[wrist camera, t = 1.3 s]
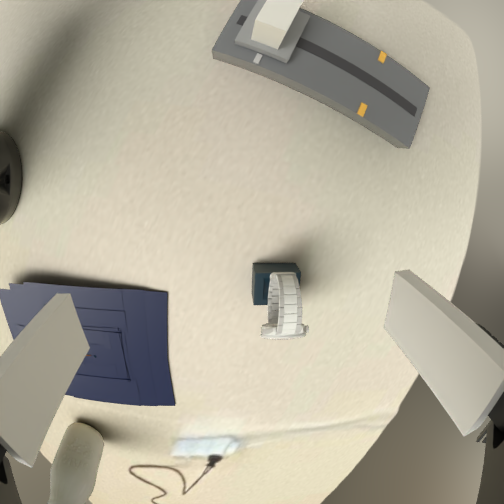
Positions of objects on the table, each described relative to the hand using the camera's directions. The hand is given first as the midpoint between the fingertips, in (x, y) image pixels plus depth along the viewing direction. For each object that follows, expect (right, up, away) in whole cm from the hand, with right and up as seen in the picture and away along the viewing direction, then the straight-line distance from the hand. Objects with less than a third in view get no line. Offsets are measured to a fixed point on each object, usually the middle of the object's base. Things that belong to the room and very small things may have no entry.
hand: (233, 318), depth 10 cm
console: (+10, +25, +18) cm, 32 cm away
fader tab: (+3, +27, +13) cm, 30 cm away
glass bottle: (-37, -39, +37) cm, 65 cm away
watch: (+3, -1, +27) cm, 27 cm away
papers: (-27, -13, +29) cm, 41 cm away
